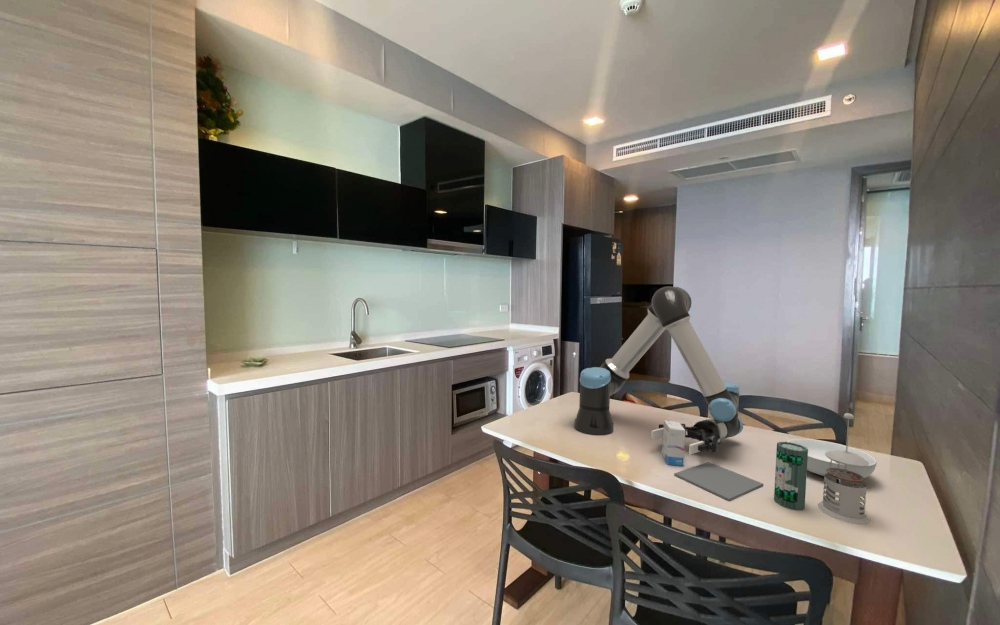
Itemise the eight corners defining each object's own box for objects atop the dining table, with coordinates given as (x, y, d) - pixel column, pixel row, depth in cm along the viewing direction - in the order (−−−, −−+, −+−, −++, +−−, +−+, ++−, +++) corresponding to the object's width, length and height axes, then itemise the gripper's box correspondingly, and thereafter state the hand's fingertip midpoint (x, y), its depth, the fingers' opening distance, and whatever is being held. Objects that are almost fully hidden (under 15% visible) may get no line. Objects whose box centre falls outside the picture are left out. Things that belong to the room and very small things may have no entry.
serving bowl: (862, 467, 121) (864, 446, 120) (886, 497, 103) (888, 472, 102) (781, 452, 131) (782, 433, 131) (790, 477, 113) (791, 455, 113)
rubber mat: (674, 475, 113) (674, 473, 113) (708, 463, 122) (708, 461, 122) (729, 501, 99) (729, 499, 99) (763, 485, 108) (763, 483, 108)
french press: (825, 517, 93) (831, 416, 91) (809, 495, 103) (814, 403, 102) (878, 528, 89) (885, 422, 87) (856, 503, 99) (862, 408, 98)
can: (768, 497, 102) (771, 441, 101) (790, 496, 102) (793, 441, 101) (787, 510, 96) (790, 451, 95) (810, 509, 96) (813, 451, 95)
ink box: (684, 466, 119) (686, 429, 118) (667, 465, 120) (668, 428, 119) (677, 455, 127) (679, 420, 127) (661, 454, 128) (662, 419, 128)
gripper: (746, 454, 122) (707, 469, 112) (676, 430, 144) (638, 440, 133) (748, 431, 122) (708, 443, 111) (677, 410, 143) (638, 418, 133)
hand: (670, 441), depth 122 cm, fingers open, 13 cm apart
